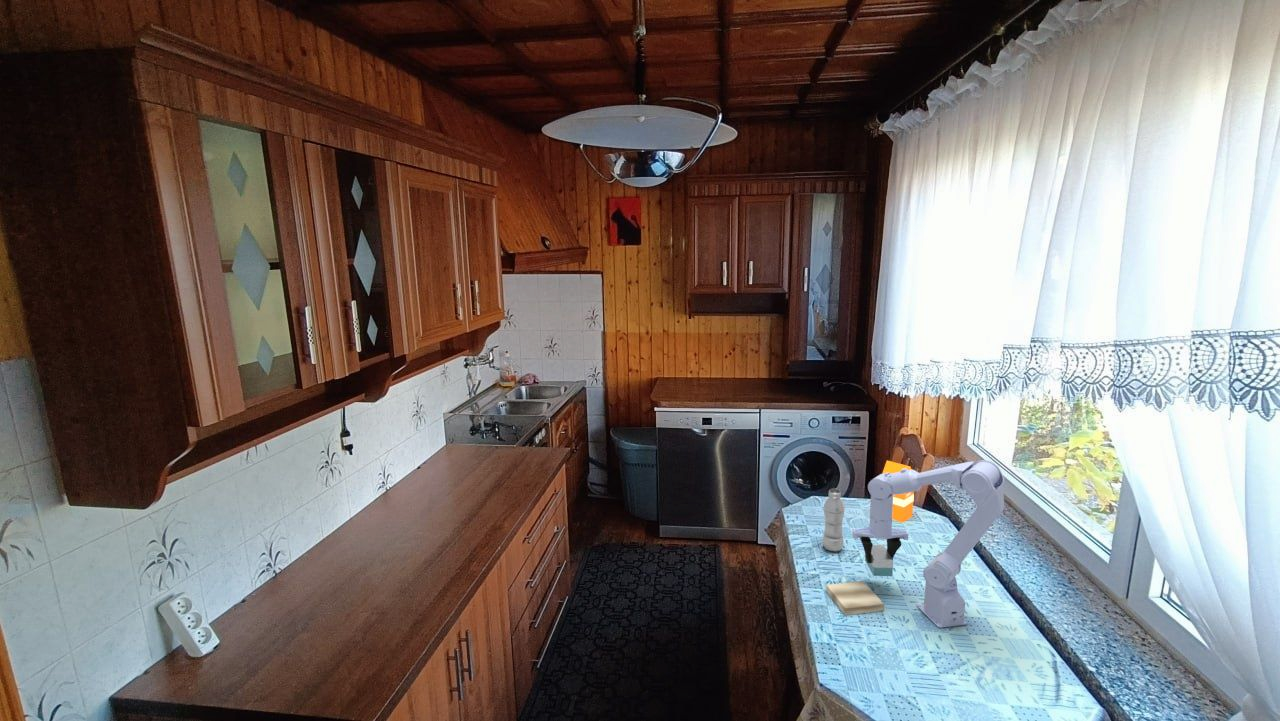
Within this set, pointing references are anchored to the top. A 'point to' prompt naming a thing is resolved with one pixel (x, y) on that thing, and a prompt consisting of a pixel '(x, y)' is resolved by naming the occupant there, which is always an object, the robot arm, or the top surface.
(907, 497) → the orange juice
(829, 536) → the plastic bottle
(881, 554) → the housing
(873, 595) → the stand
